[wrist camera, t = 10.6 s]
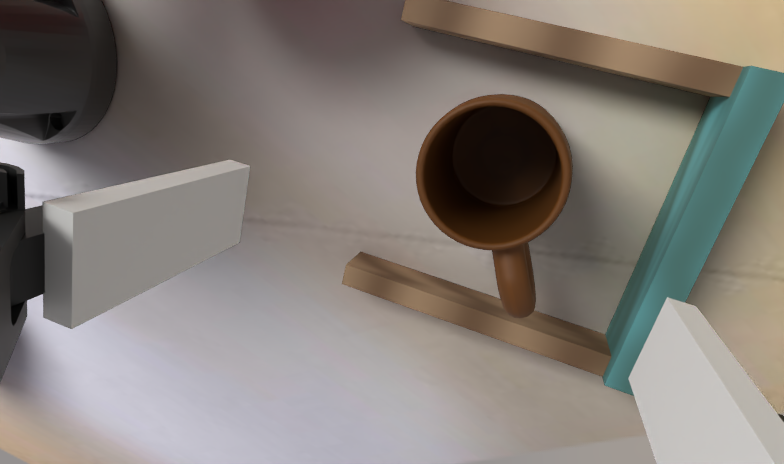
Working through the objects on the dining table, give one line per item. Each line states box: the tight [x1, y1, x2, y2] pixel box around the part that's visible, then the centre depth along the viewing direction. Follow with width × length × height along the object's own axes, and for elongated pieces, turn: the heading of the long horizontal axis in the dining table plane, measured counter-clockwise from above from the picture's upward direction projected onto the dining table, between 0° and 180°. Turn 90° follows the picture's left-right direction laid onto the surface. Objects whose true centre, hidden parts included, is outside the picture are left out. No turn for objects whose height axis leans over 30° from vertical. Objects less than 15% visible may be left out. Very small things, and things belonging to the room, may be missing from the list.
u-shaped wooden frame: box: [342, 0, 784, 396], centre depth 30 cm, size 20×19×4 cm
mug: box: [416, 94, 573, 318], centre depth 28 cm, size 12×8×9 cm, turn 14°
